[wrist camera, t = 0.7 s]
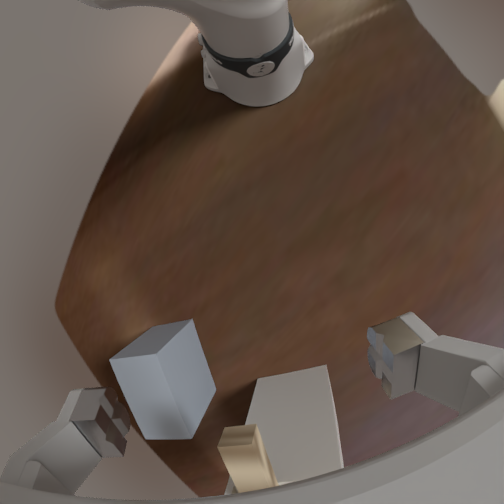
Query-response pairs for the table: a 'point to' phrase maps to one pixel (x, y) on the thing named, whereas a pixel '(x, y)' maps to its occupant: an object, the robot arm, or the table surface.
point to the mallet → (246, 458)
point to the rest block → (166, 380)
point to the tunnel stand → (296, 425)
